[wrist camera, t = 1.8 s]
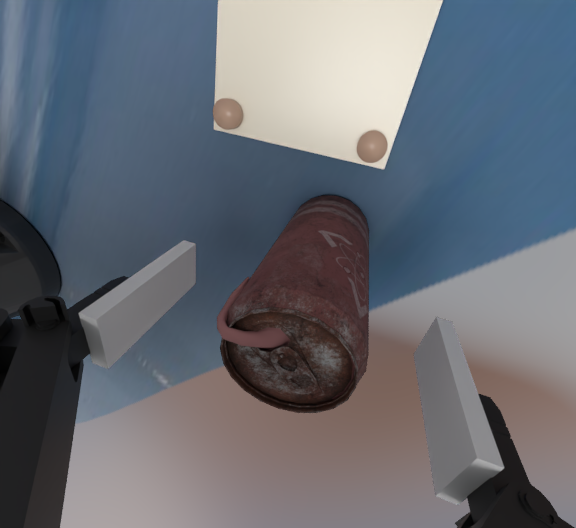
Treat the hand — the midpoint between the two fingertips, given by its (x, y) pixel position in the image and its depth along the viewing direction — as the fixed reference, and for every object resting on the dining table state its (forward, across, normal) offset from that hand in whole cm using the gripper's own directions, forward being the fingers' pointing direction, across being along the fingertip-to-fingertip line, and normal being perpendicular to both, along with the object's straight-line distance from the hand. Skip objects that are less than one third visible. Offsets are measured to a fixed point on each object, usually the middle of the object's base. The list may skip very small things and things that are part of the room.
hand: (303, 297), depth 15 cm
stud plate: (+9, -4, +12) cm, 15 cm away
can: (+9, 0, 0) cm, 9 cm away
